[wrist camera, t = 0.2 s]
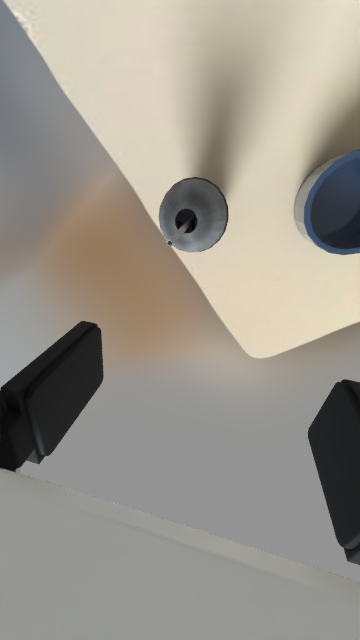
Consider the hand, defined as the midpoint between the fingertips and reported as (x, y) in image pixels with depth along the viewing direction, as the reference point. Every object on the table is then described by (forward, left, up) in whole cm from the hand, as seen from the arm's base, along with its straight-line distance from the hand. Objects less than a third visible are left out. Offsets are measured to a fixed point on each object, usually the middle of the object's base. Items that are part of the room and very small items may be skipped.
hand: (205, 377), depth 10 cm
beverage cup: (-4, -4, -31) cm, 32 cm away
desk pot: (-7, +13, -31) cm, 34 cm away
